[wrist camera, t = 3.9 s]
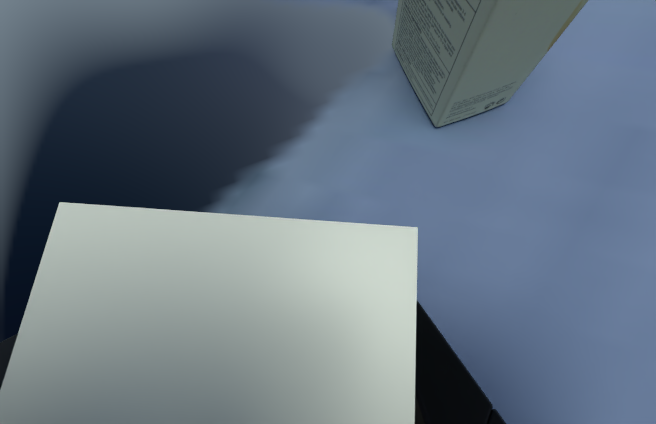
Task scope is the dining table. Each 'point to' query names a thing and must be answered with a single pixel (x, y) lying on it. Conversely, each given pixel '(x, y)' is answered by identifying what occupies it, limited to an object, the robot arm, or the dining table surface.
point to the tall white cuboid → (216, 321)
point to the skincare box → (474, 49)
